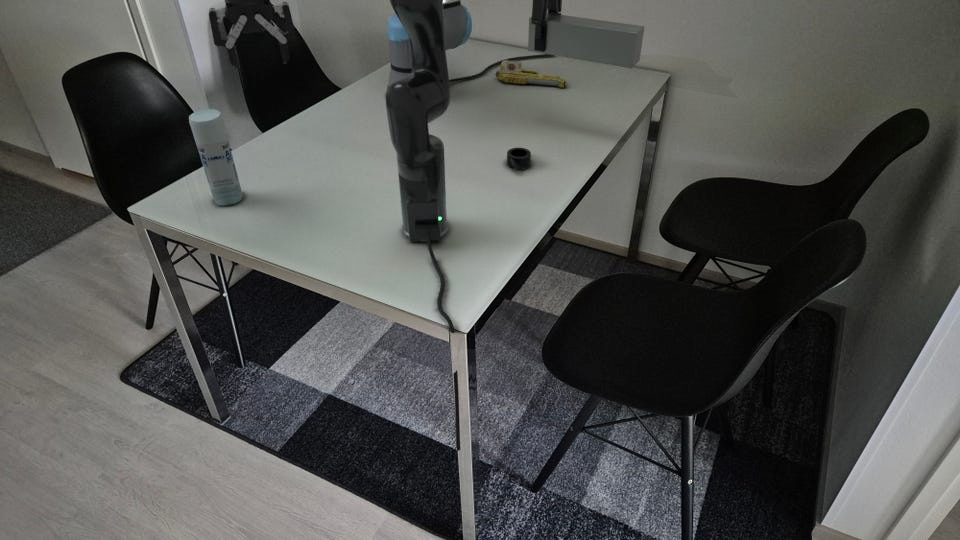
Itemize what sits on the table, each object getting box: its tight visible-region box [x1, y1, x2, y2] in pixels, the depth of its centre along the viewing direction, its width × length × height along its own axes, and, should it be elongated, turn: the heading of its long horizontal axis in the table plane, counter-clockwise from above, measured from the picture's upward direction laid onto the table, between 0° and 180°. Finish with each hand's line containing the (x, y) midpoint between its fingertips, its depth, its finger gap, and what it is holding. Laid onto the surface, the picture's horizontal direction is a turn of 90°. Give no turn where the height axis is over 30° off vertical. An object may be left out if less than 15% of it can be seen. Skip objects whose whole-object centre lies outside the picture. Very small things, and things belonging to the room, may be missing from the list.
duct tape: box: [506, 147, 532, 171], centre depth 154 cm, size 8×10×3 cm
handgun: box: [494, 59, 567, 89], centre depth 199 cm, size 2×23×15 cm
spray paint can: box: [188, 108, 244, 206], centre depth 136 cm, size 6×6×20 cm
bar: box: [527, 12, 645, 69], centre depth 156 cm, size 28×6×8 cm, turn 62°
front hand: (261, 64), depth 117 cm, fingers open, 8 cm apart
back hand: (544, 46), depth 162 cm, fingers closed on bar, 6 cm apart
